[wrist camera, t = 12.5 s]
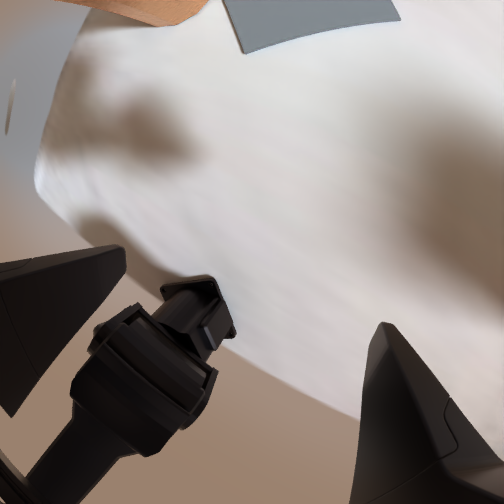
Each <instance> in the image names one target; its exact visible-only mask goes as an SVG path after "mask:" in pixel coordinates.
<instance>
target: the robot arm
mask: <svg viewBox="0 0 504 504" xmlns="http://www.w3.org/2000/svg"><path fill="white" fill-rule="evenodd" d="M126 268H127V266H126V254H125V249H124V248H123V247H122V246H119V245H107V246H101V247H95V248H88V249H82V250H76V251H70V252H64V253H59V254H53V255H47V256H41V257H35V258H33V259H32V258H29V259H23V260H18V261H11V262H5V263H0V405H1V407H2V408H3V409H4V410H5V412H6V413H7V414H8V415H9V416H10V417H11V418H12V417H13V416H14V415H15V413H16V412H17V411H18V409H19V408H20V406H21V405H22V403H23V402H24V400H25V399H26V397H27V396H28V395H29V393H30V392H31V391H32V389H33V388H34V387H35V385H36V384H37V382H38V381H39V380H40V378H41V377H42V375H43V374H44V373H45V371H46V370H47V369H48V368H49V366H50V365H51V364H52V362H53V361H54V360H55V358H56V357H57V356H58V355H59V354H60V352H61V351H62V350H63V349H64V347H65V346H66V345H67V344H68V342H69V341H70V340H71V339H72V338H73V336H74V335H75V334H76V333H77V332H78V330H79V329H80V328H81V327H82V326H83V324H84V323H85V322H86V321H87V320H88V319H89V318H90V316H91V315H92V314H93V313H94V312H95V311H96V310H97V308H98V307H99V306H100V305H101V304H102V303H103V301H104V300H105V299H106V297H107V296H108V295H109V294H110V292H111V291H112V290H113V288H114V287H115V286H116V284H117V283H118V281H119V280H120V279H121V278H122V276H123V275H124V274H125V272H126ZM210 283H212V284H213V286H212V285H211V284H210ZM164 289H165V290H166V291H165V290H164ZM160 292H161V294H162V296H163V298H164V300H165V302H164V303H163V304H162V305H161V306H160V307H159V308H158V309H157V310H156V312H154V313H153V314H152V315H151V316H150V315H149V314H148V313H147V312H146V311H145V310H144V309H143V308H142V306H141V305H140V304H139V303H138V302H137V303H136V304H134V305H133V306H131V305H130V306H129V307H127V308H125V309H124V310H123V311H121V312H120V313H119V314H117V315H116V316H114V317H113V318H111V319H110V320H108V321H106V322H104V323H101V324H99V325H97V326H96V327H95V328H94V330H93V339H92V341H91V343H90V345H89V347H88V349H87V352H88V353H89V354H90V355H91V356H90V358H89V359H88V360H87V361H86V362H85V364H84V365H83V366H82V367H81V369H80V370H79V371H78V372H77V374H76V376H75V378H74V379H73V380H72V383H71V389H70V397H71V398H72V399H73V407H72V419H71V420H70V422H69V423H68V424H67V425H66V426H65V428H64V429H63V430H62V431H61V433H60V434H59V435H58V436H57V438H56V439H55V440H54V441H53V442H52V444H51V445H50V446H49V447H48V449H47V450H46V451H45V452H44V454H43V455H42V456H41V458H40V459H39V460H38V461H37V463H36V464H35V465H34V467H33V468H32V469H31V470H30V472H29V473H28V474H27V476H26V477H24V476H23V475H22V474H21V473H20V472H19V471H18V469H17V468H16V467H15V466H14V465H13V464H12V463H11V462H10V460H9V459H8V458H7V457H6V456H5V455H4V453H3V452H2V451H1V450H0V497H1V498H2V499H3V500H4V502H5V503H6V504H79V503H80V502H81V501H82V500H83V499H84V498H85V497H86V495H88V493H89V492H90V491H91V490H92V489H93V488H94V487H95V486H96V484H97V483H98V482H99V481H100V480H101V479H102V478H103V477H104V475H105V474H106V473H107V472H108V471H109V470H110V468H111V467H112V466H113V465H114V464H115V463H116V461H118V459H119V458H122V457H126V456H130V455H135V454H140V455H142V456H143V457H149V456H151V455H154V454H156V453H158V452H160V451H161V449H162V448H163V447H164V445H165V444H166V443H167V441H168V440H169V439H170V438H171V437H172V435H174V433H175V432H176V431H177V430H178V429H180V430H184V429H186V428H188V427H189V426H190V425H191V424H192V423H193V422H194V421H195V420H196V419H197V418H198V417H199V416H200V414H201V413H202V411H203V410H204V408H205V407H206V405H207V403H208V400H209V398H210V395H211V392H212V389H213V386H214V383H215V381H216V378H217V375H218V370H216V369H215V368H214V367H213V368H212V367H211V366H209V365H208V364H207V363H206V361H207V360H208V358H209V356H210V355H211V353H212V352H213V351H216V350H217V349H218V347H219V345H220V344H221V342H222V340H223V339H232V338H234V337H235V336H236V334H237V333H236V330H235V327H234V325H233V320H232V318H231V315H230V313H229V310H228V307H227V305H226V302H225V301H224V299H223V297H222V294H221V292H220V289H219V286H218V284H217V282H216V280H215V279H213V278H209V279H201V280H194V281H187V282H179V283H172V284H164V285H162V286H161V287H160ZM231 333H232V334H231ZM449 397H450V395H449V394H448V393H447V391H446V390H445V389H444V387H443V386H442V385H441V383H440V382H439V381H438V379H437V378H436V377H435V375H434V374H433V373H432V371H431V370H430V369H429V368H428V366H427V365H426V364H425V363H424V361H423V360H422V359H421V357H420V356H419V355H418V354H417V352H416V351H415V350H414V349H413V348H412V346H411V345H410V344H409V343H408V341H407V340H406V339H405V338H404V336H403V335H402V334H401V333H400V332H399V330H398V329H397V328H396V327H395V326H394V325H393V324H391V323H386V322H381V323H380V324H379V325H378V327H377V329H376V331H375V334H374V336H373V337H372V339H371V342H370V344H369V348H368V356H367V363H366V370H365V377H364V383H363V391H362V406H361V420H360V431H359V441H358V450H357V458H356V465H355V472H354V479H353V485H352V490H351V496H350V501H349V504H504V461H502V460H501V459H500V458H499V457H498V456H497V455H496V454H495V453H494V451H493V450H492V449H491V448H490V446H489V445H488V444H487V443H486V441H485V440H484V439H483V438H482V436H481V435H480V434H479V433H478V432H477V430H476V429H475V428H474V427H473V425H472V424H471V423H470V422H469V421H468V419H467V418H466V417H465V415H464V414H463V413H462V411H461V410H460V409H459V407H458V406H457V405H456V403H455V402H454V401H453V399H452V398H451V397H450V398H449ZM5 503H2V502H1V501H0V504H5Z"/></svg>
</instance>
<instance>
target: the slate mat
mask: <svg viewBox="0 0 504 504" xmlns="http://www.w3.org/2000/svg"><path fill="white" fill-rule="evenodd" d="M224 1H225V4H226V6H227V9H228V11H229V14H230V16H231V19H232V21H233V24H234V27H235V29H236V32H237V34H238V37H239V40H240V42H241V45H242V48H243V50H244V53H245V54H248V53H251V52H254V51H257V50H259V49H262V48H265V47H268V46H272V45H275V44H278V43H281V42H285V41H288V40H292V39H295V38H299V37H303V36H307V35H311V34H315V33H320V32H324V31H329V30H334V29H339V28H345V27H350V26H357V25H364V24H371V23H380V22H391V21H401V18H400V16H399V14H398V12H397V10H396V8H395V6H394V5H393V3H392V1H391V0H224Z"/></svg>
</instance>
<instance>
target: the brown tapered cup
mask: <svg viewBox="0 0 504 504" xmlns="http://www.w3.org/2000/svg"><path fill="white" fill-rule="evenodd" d="M55 1H62V2H68V3H74V4H79V5H84V6H88V7H93V8H97V9H101V10H105V11H109V12H113V13H116V14H120V15H123V16H127V17H130V18H133V19H136V20H139V21H142V22H145V23H148V24H151V25H154V26H156V27H161V26H170V25H177V24H179V23H181V22H182V21H184V20H186V19H188V18H189V17H191V16H193V15H195V14H197V13H198V12H199V11H200V9H201V8H202V7H203V6H204V5H205V4H206V3H207V2H208V1H209V0H55Z"/></svg>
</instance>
